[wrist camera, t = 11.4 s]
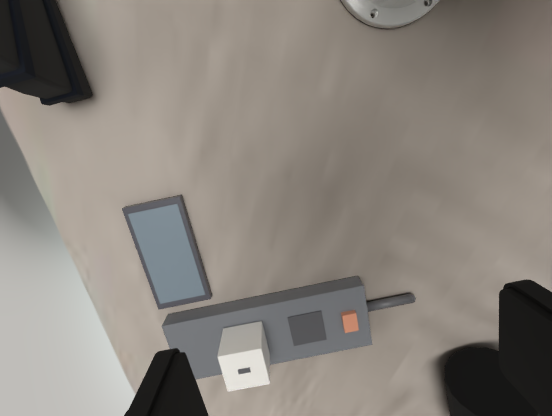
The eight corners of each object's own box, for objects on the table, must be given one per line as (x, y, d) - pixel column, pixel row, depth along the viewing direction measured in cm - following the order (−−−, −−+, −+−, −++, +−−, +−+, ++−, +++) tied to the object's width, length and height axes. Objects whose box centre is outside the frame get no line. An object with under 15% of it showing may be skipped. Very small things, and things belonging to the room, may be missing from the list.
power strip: (409, 265, 39) (422, 277, 36) (415, 322, 42) (427, 337, 38) (168, 314, 40) (159, 329, 37) (186, 367, 42) (180, 386, 39)
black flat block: (68, 134, 32) (-135, 28, 17) (55, 29, 34) (-134, -145, 19) (101, 125, 32) (-74, 10, 17) (86, 21, 34) (-80, -162, 19)
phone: (181, 194, 36) (179, 196, 35) (212, 295, 39) (210, 299, 38) (125, 206, 36) (121, 208, 35) (160, 305, 40) (158, 309, 39)
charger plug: (261, 310, 40) (261, 349, 33) (269, 341, 41) (270, 384, 34) (225, 317, 40) (217, 357, 33) (234, 348, 41) (227, 392, 34)
